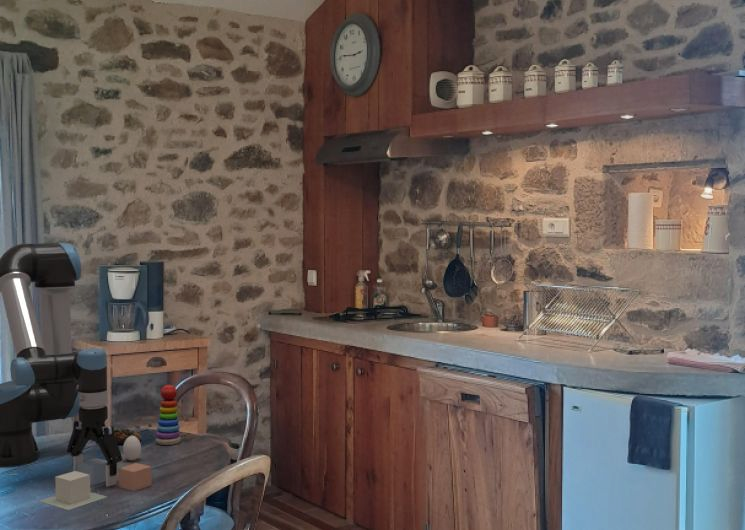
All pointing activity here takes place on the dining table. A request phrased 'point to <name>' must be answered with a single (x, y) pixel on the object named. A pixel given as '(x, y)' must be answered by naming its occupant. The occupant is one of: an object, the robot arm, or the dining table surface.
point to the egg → (132, 448)
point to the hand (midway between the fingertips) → (94, 483)
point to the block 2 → (94, 470)
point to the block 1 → (72, 487)
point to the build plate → (67, 506)
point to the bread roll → (125, 436)
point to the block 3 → (135, 476)
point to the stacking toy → (168, 418)
